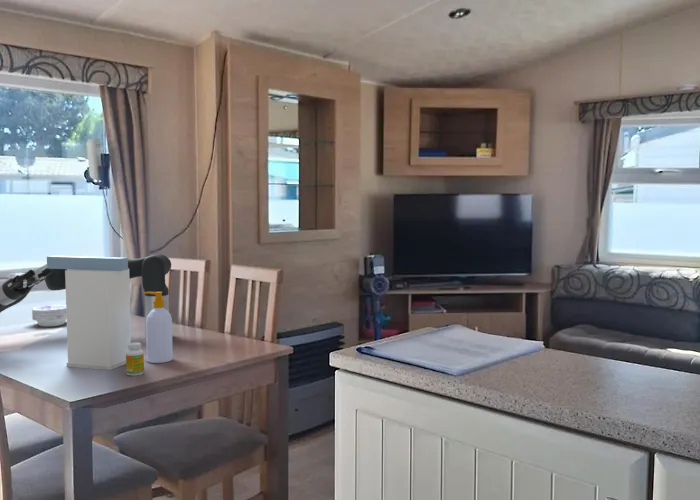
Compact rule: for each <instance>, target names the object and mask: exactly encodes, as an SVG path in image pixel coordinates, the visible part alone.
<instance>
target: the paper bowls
mask: <svg viewBox="0 0 700 500" xmlns="http://www.w3.org/2000/svg"><path fill="white" fill-rule="evenodd" d="M31 315H32V317H31V318H32V320H33V321H36V322H37V324H38V326H40V327H47V328H48V327H59V326H62V325H64V324H65V323H66V322H67V315H66V304H51V305H41V306H36V307H33V308H32V309H31Z"/></svg>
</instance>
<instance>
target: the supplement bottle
mask: <svg viewBox="0 0 700 500" xmlns="http://www.w3.org/2000/svg"><path fill="white" fill-rule="evenodd" d="M141 348H142V343H141V342H131V343H129V344H128V349H129V350H128V351H127V352H126V364H125V366H126V367H125V372H126V375H128V376H131V377H132V376H141V375H143V374H145V373H144V372H145V360H144V359H145V357H144V356H145V355H144V350H143V349H141Z"/></svg>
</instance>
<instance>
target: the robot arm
mask: <svg viewBox="0 0 700 500" xmlns="http://www.w3.org/2000/svg"><path fill="white" fill-rule="evenodd" d="M128 268H129V280H130V279H134V278H140V277H141V284H142V289H143V291H144V292H162V298H163V300H164V309H165V310H167V311H168V312H169V313H170V307H169V306H170V304H169V303H170V302H169V299H170V298H169V297H170V295H169V294H170V293H169V292H170V290H169V287H168V286H167V284H166V275H168V273H169V272H170V270H171V268H172V261H171V260H170V258H169V257H167V256H166V255H165V254H161V253H156V254H151V255H149V256H146V257H141V258H140V257H139V258H128ZM66 270H68V269H49V268H47V263H46V264H44V265H42V266H41V267H39V268H38V269H36V270H35V271H34V269H30V270H28V271H27V272H25V273H22V274H20V275H16V276H12V277H10V278H9V279H7V280H5V282H3V283H1V284H0V314H1V313H2V312H3V311H5V310H7V309H10V308H11V307H13V306H15V305H17V304H19V303H20V302H23V300H24V299H25V298H27V296H28V295H29V293H30V292H31V290H32V289H33V288H34V286H36V285H38V284H40V283H42V282H43V281H44V282H45V284H46V287H47V289H48V290H50V291H61V290H66V282H65V271H66ZM144 292H143V293H144ZM155 298H156V296H155V295H154V294H149V293H146V294H144V323H145V325H144V326H145V327H144V329H145V331H144V333H145V334H144V335H145V339H146V319H147V316H148V314H149V313H150V312H151V310H153V309H154V303H153V301H154V300H155Z"/></svg>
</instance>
